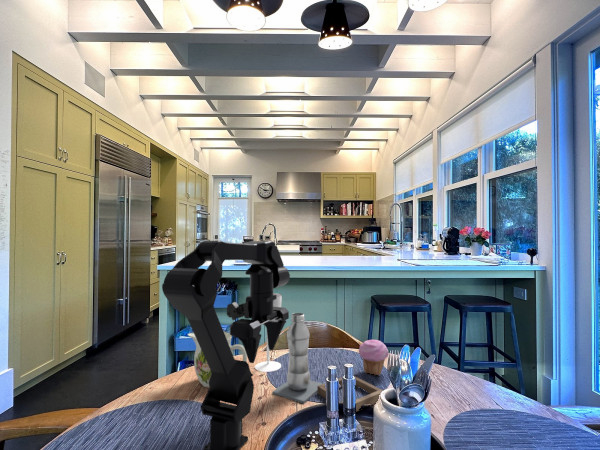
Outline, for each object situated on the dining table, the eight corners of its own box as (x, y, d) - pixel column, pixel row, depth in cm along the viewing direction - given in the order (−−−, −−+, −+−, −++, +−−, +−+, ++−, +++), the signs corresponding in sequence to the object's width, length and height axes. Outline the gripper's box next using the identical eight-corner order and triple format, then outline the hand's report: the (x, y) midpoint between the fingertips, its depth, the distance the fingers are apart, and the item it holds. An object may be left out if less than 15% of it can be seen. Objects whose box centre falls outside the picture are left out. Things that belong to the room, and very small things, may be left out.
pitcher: (241, 393, 84) (241, 341, 85) (178, 389, 87) (178, 339, 87) (252, 375, 95) (252, 330, 96) (196, 373, 98) (196, 328, 98)
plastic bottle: (285, 393, 83) (284, 317, 84) (288, 382, 89) (287, 311, 90) (310, 394, 82) (308, 317, 83) (310, 382, 89) (309, 311, 90)
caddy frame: (349, 414, 73) (349, 405, 74) (317, 393, 84) (317, 385, 84) (384, 399, 80) (384, 391, 81) (351, 381, 91) (351, 374, 91)
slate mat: (304, 403, 79) (304, 401, 79) (272, 393, 84) (272, 391, 84) (324, 386, 88) (324, 384, 88) (294, 378, 93) (294, 376, 93)
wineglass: (248, 370, 99) (248, 297, 100) (261, 359, 108) (261, 292, 110) (275, 374, 96) (275, 298, 97) (286, 361, 106) (285, 293, 107)
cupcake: (355, 375, 95) (354, 341, 95) (364, 365, 102) (363, 334, 103) (384, 381, 90) (384, 346, 91) (391, 370, 98) (391, 338, 99)
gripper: (254, 285, 89) (254, 340, 88) (210, 295, 72) (210, 365, 71) (289, 287, 84) (289, 345, 84) (251, 299, 67) (251, 373, 67)
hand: (261, 355), depth 76 cm, fingers open, 9 cm apart
